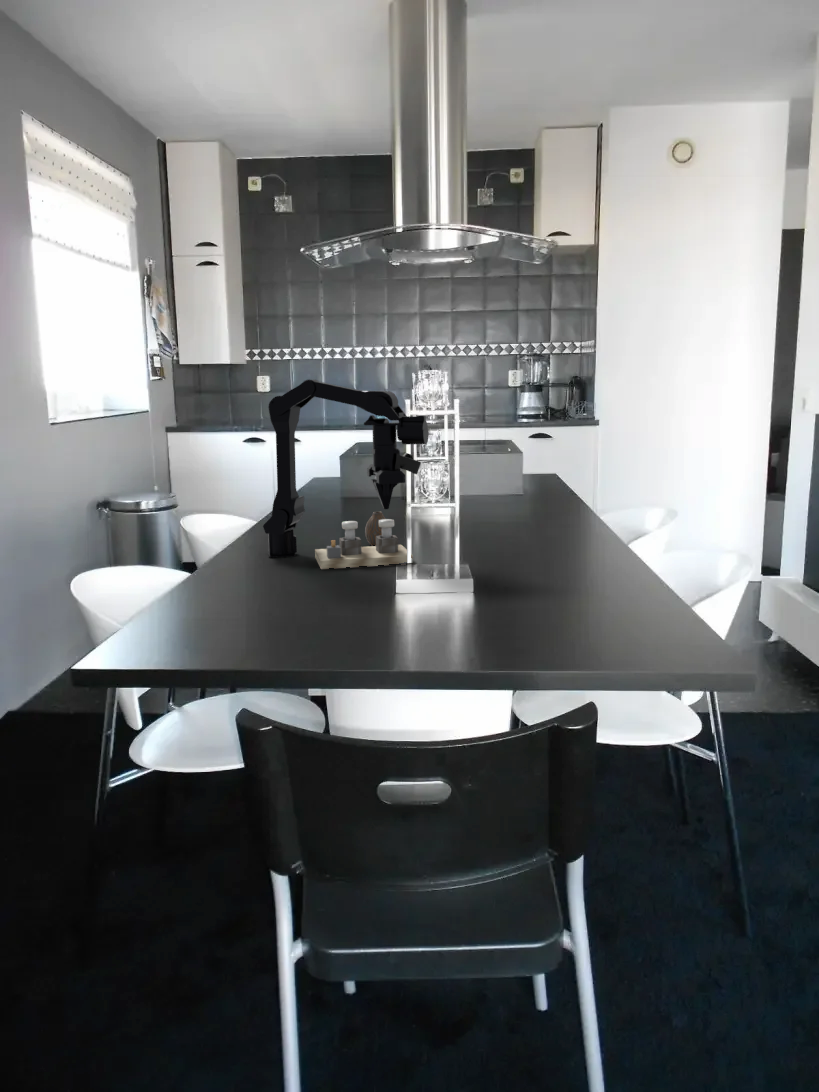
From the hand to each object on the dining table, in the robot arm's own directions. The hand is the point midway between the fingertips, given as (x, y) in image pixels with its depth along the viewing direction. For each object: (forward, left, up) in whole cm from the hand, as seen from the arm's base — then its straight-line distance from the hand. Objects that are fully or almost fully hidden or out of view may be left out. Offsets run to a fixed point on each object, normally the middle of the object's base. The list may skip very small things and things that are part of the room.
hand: (386, 509), depth 201 cm
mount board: (-6, 0, -12) cm, 14 cm away
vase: (+1, +19, -13) cm, 23 cm away
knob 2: (0, 0, -8) cm, 8 cm away
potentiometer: (-14, -4, -10) cm, 17 cm away
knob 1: (-9, 0, -8) cm, 12 cm away
